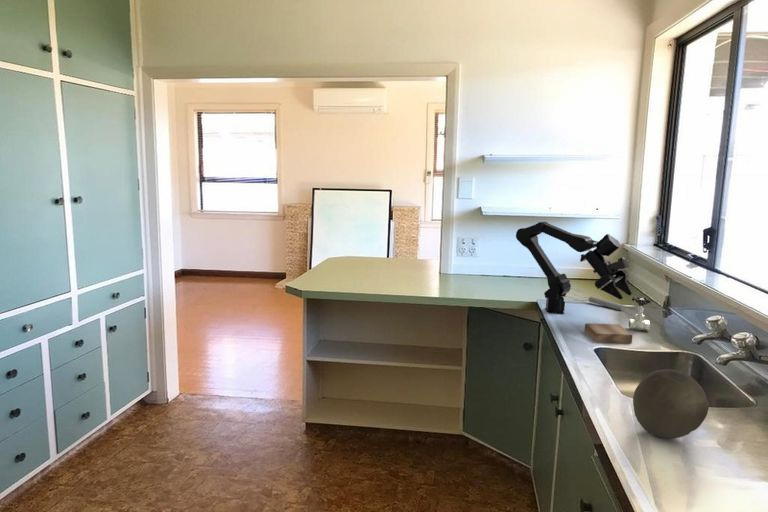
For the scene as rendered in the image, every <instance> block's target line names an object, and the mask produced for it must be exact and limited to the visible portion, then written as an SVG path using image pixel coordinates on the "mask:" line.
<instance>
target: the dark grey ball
mask: <svg viewBox="0 0 768 512" xmlns="http://www.w3.org/2000/svg"><path fill="white" fill-rule="evenodd" d="M632 405H633V411H634V416H635V418H636V421H637V422H638V423H639V425H640V426H641V428H642V429H643V430H645V432H646V433H649V434H650V435H652V436H654V437H657V438H659V439H660V438H662V439H666V440H667V439H668V440H669V439H670V440H671V439H679V438H683V437H685V436H687V435H689V434H690V433H692V432H694V431H696V430H697V429H698V428H700V426H701V425H702V424H703V422H704V421H705V419H706V417H707V416H708V413H709V407H710V403H709V401H708V398H707V395H706V393H705V390H704V389H703V387H702V386H701V385H700V384H699V383H698V382H697V380H696V379H694V378H692V377H691V376H690V375H689V374H687V373H685V372H684V371H681V370H677V369H669V368H668V369H658V370H654V371H652V372H650V373H649V374H646V375H645V376H644V377H643V378H642V379H641V381H640V382H639V383H638V385H637V386H636V388H635V390H634V392H633V396H632Z"/></svg>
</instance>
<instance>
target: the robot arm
mask: <svg viewBox="0 0 768 512" xmlns="http://www.w3.org/2000/svg"><path fill="white" fill-rule="evenodd" d="M542 233H543V234H545V235H548V236H550V237H553V238H554V239H557V240H559V241H561V242H563V243H565V244H567V245H568V246H569V247H570V248H571V249H573V250H574V251H576V252H578V253H583V252H586V253H585V254H584V253H583V254H581V255H580V259H579V261H580V262H586V261H587V263H588V264H589V265H590V267H592V269H593V270H592V271H593V273H594V274H597V275H598V276H599V278H598V279H596V281H595V282H594V286H595V288H597V290H600V291H602V292H605V293H607V294H608V295H611V296H613V297H615V298H617V300H618V299H619V300H622V299H624V297H623V295H622V293H621V292H620V290H621V291H622V292H623V293H625V294H626V295H627V296H631V295H633V293H632V291H631V289H630V286H629V283H628V280H627V279H628V277H629V272H628V271H627V270H626V268H630V266H629V263H630V261H629V260H628V259H627V258H625V257H620V258H617V259H618V260H617V261H616V262H612V261H611V260H607V259H606V258H605V257H610V256H611V255H613V254H614V253H615V252H616V251H617V250H619V249H620V248H621V245H622V244H621V243H620V241H619V240H618V239H616V238H615V237H614V236H611V235H610V234H609V233H606V234H605V235H604V236H603V237H602V238H601V239H600V240H599V241H597V240H594V239H592V237H590V236H587V235H583V234H577V233H572V232H569V231H567V230H565V229H563V228H560V227H558V226H555V225H553V224H551V223H548V222H547V221H538V222H537V223H535V224H533V225H530V226H527V227H521V228H518V229H517V231H516V233H515V239H516V240H517V241H518V242H519V243H520V244H521V245H522V246H523V247H525V248H526V249H527V250H528V251H529V252H530V254H531V255H532V257H533V258H534V260H535V262H536V263H537V264H538V267H540V269H541V271H542V272H543V274H544V275H545V277H546V280H547V285H548V287H549V288H548V289H547V290H546V291H544V293H543V294H544V298H546V299H545V300H546V301H545V302H546V303H545V307H544V310H545V312H546V313H548V314H561V315H562V314H565V305H566V304H565V303H566V301H565V298H566V296H567V294H569V293H570V292H571V289H572V285H571V280H570V279H569V278H568V277H567V274H566V273H560V272H558V271H557V269H556V267H555V266H554V264H553V263H552V262H551V260H550V259H549V257H548V256H547V254H546V253H545V251H544V250H543V248H542V246H541V245H540V244H539V236H538V235H541V234H542ZM592 249H593V250H592ZM570 288H571V289H570Z"/></svg>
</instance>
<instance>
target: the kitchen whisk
mask: <svg viewBox="0 0 768 512" xmlns="http://www.w3.org/2000/svg"><path fill="white" fill-rule="evenodd" d="M570 290H574V291H576V292H579V293H581V294H583V291H582V290H581V289H579V288H578V287H577V288H576V287H575V286H572V285H571V288H570ZM568 294H569V295H575V296H577V298H574V297H571V296H570V298H571V299H574V301H575V302H576V301H579V302H580V301H581V302H584V301H588V302H589V303H593V304H597V305H599V306H602V307H606V308H609V309H612V310H616V311H623V310H624V308H626V306H625V305H623V304H621V303H618V302H614V301H612V300H611V301H610V300H607V299H603V298H600V297H596V296H593V295H588V294H587V293H586V292H584V295H581V294H578V293H574V292H571V291H570V292H568ZM578 296H579V297H580V298H579V297H578ZM566 297H567V298H569V296H567V295H566V296H565V298H566ZM581 298H582V299H581ZM626 311H628V308H626Z"/></svg>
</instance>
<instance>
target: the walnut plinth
mask: <svg viewBox="0 0 768 512" xmlns="http://www.w3.org/2000/svg"><path fill="white" fill-rule="evenodd" d="M584 332H585V334H587V335H588V336H589V337H590V339H592V340H593V341H594V342H595V343H613V344H615V343H617V344H632V343H633V334H632V333H631V332H629V331H628V330H627V329H625V328H624V327H623V326H621V324H617V323H615V324H614V323H611V324H610V323H584Z"/></svg>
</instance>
